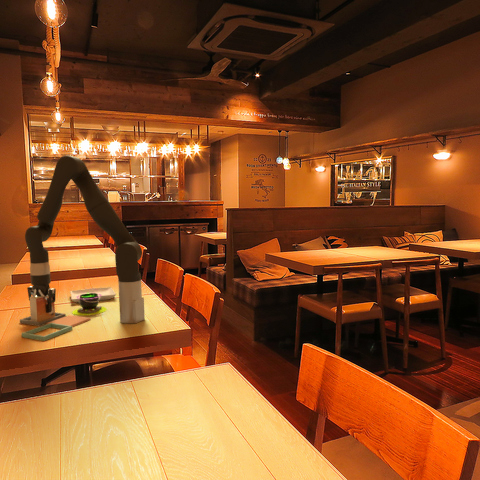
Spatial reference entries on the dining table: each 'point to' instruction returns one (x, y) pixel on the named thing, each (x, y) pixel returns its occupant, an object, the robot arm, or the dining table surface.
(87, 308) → the toy cauldron
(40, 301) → the small box
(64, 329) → the green rectangular frame
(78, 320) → the terracotta tile
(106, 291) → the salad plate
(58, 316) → the grey rectangular frame
